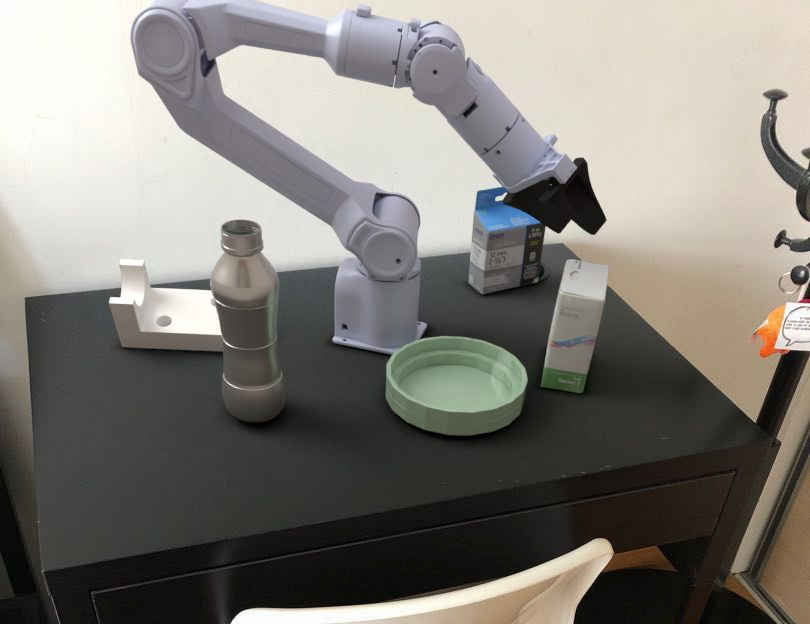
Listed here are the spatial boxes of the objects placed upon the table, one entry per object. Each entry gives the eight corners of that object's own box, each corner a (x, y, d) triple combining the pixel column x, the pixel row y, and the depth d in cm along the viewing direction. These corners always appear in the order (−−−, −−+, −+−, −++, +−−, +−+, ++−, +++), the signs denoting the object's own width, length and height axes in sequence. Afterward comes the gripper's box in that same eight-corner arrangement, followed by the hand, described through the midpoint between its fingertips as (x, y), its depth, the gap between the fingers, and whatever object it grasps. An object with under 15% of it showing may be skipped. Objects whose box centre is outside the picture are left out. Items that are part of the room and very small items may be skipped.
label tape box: (481, 296, 116) (492, 201, 108) (465, 282, 119) (475, 189, 111) (538, 284, 120) (553, 191, 111) (521, 271, 122) (535, 180, 114)
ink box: (546, 350, 107) (563, 255, 99) (590, 356, 107) (610, 262, 99) (539, 388, 101) (556, 291, 93) (585, 395, 100) (606, 298, 92)
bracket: (123, 353, 104) (108, 303, 97) (134, 309, 108) (120, 259, 101) (237, 357, 104) (229, 308, 98) (243, 314, 108) (236, 264, 102)
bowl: (366, 422, 94) (367, 394, 92) (408, 352, 105) (409, 325, 103) (506, 453, 92) (510, 424, 89) (534, 378, 102) (539, 351, 100)
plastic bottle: (261, 438, 91) (247, 250, 78) (210, 415, 94) (188, 229, 80) (300, 409, 96) (293, 225, 82) (250, 388, 98) (235, 206, 85)
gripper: (556, 93, 85) (642, 196, 91) (494, 108, 98) (572, 198, 104) (508, 153, 85) (597, 251, 91) (452, 160, 98) (533, 246, 104)
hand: (581, 226), depth 98 cm, fingers open, 7 cm apart
